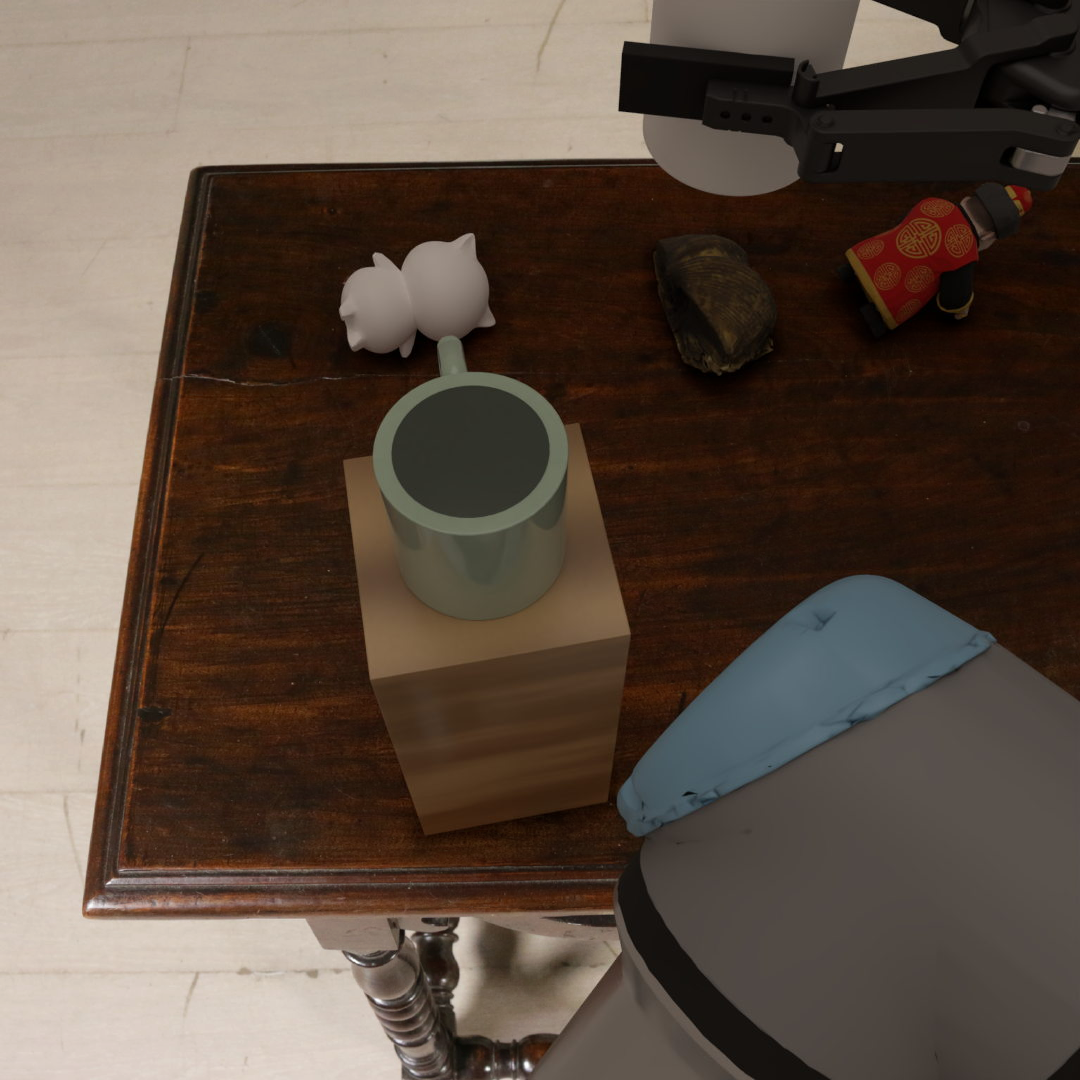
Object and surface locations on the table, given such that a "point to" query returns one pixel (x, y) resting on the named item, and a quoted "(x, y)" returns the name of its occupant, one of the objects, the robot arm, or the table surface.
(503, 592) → the mug
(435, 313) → the cat figurine
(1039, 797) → the robot arm
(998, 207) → the figurine
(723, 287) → the seashell
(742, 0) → the beverage can
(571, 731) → the plinth
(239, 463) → the table surface
